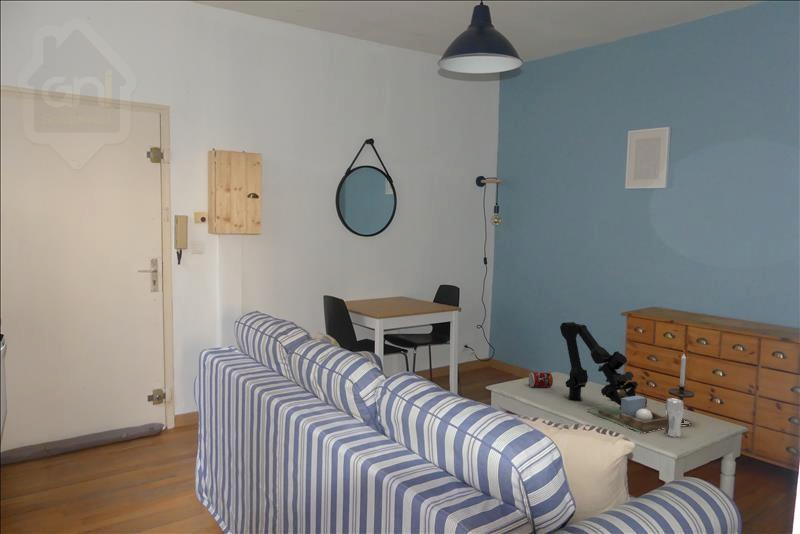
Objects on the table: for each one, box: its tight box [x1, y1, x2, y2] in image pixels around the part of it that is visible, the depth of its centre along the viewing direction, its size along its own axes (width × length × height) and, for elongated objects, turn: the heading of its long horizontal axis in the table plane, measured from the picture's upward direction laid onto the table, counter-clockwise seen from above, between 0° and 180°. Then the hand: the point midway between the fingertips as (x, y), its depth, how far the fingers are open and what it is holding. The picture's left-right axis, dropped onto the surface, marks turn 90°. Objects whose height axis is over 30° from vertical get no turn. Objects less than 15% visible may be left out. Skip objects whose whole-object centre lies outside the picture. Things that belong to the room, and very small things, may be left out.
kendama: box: [611, 390, 648, 407], centre depth 297 cm, size 6×10×20 cm
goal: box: [587, 405, 667, 434], centre depth 270 cm, size 32×19×4 cm, turn 27°
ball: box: [635, 408, 652, 421], centre depth 262 cm, size 7×7×7 cm
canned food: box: [528, 372, 554, 388], centre depth 321 cm, size 8×8×11 cm
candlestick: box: [667, 347, 696, 425], centre depth 266 cm, size 11×11×35 cm
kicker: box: [620, 395, 647, 418], centre depth 268 cm, size 4×11×10 cm, turn 117°
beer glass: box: [664, 397, 685, 437], centre depth 251 cm, size 7×7×15 cm
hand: (629, 404), depth 269 cm, fingers open, 9 cm apart
